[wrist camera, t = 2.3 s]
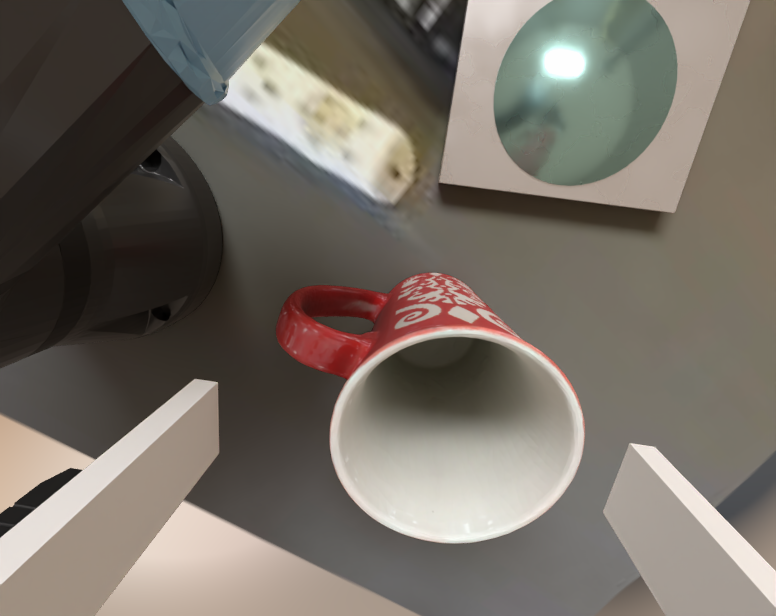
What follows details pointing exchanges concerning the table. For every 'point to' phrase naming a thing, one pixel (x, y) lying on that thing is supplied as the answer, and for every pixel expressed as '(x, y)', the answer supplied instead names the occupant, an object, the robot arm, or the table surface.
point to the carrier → (586, 96)
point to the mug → (438, 408)
